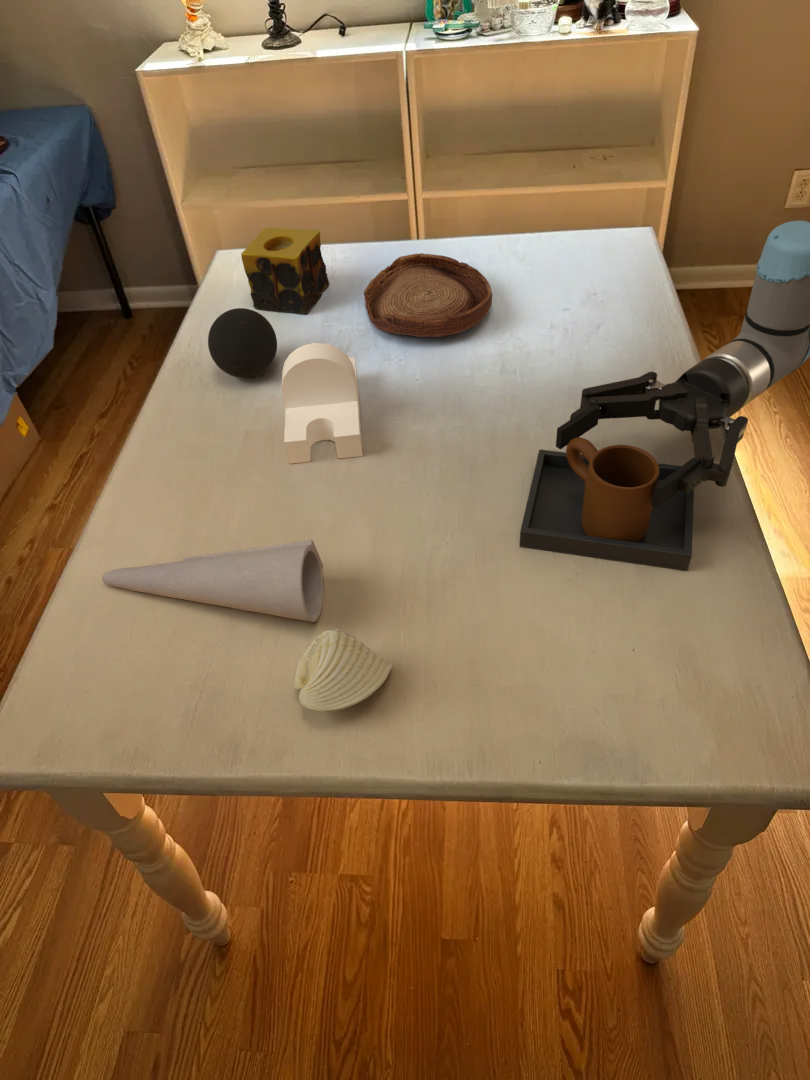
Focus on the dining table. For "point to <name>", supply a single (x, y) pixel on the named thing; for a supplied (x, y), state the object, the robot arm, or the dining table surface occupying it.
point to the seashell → (338, 672)
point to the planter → (238, 580)
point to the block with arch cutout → (320, 402)
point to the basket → (427, 296)
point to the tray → (560, 530)
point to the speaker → (242, 343)
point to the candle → (285, 269)
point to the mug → (615, 489)
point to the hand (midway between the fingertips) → (605, 467)
